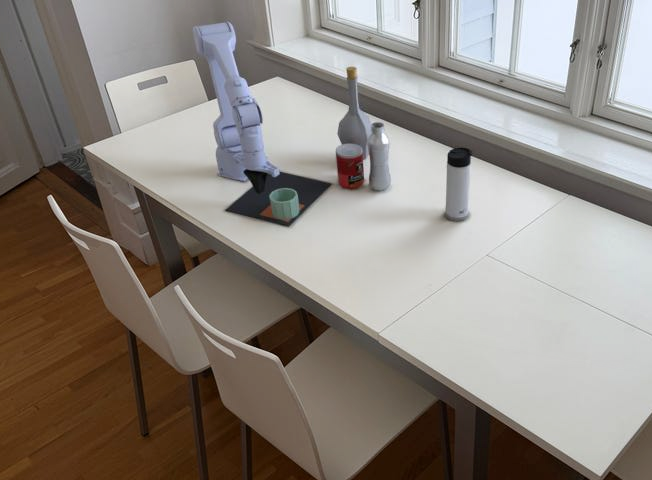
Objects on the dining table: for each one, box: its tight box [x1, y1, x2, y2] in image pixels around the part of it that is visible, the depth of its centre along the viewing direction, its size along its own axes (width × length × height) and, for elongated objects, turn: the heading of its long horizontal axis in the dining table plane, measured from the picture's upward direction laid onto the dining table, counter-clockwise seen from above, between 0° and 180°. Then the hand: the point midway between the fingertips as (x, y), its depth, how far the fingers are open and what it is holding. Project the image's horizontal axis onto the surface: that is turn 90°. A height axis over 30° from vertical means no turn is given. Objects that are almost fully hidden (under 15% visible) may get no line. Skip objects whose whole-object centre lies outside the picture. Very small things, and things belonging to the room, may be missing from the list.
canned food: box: [335, 144, 365, 190], centre depth 194 cm, size 8×8×11 cm
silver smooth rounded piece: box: [367, 121, 392, 192], centre depth 189 cm, size 6×7×20 cm
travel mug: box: [445, 147, 474, 222], centre depth 179 cm, size 6×7×20 cm
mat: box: [225, 170, 332, 228], centre depth 190 cm, size 20×24×1 cm
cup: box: [269, 188, 300, 220], centre depth 181 cm, size 7×7×6 cm
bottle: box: [336, 66, 372, 161], centre depth 198 cm, size 11×11×30 cm
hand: (260, 191), depth 183 cm, fingers closed
